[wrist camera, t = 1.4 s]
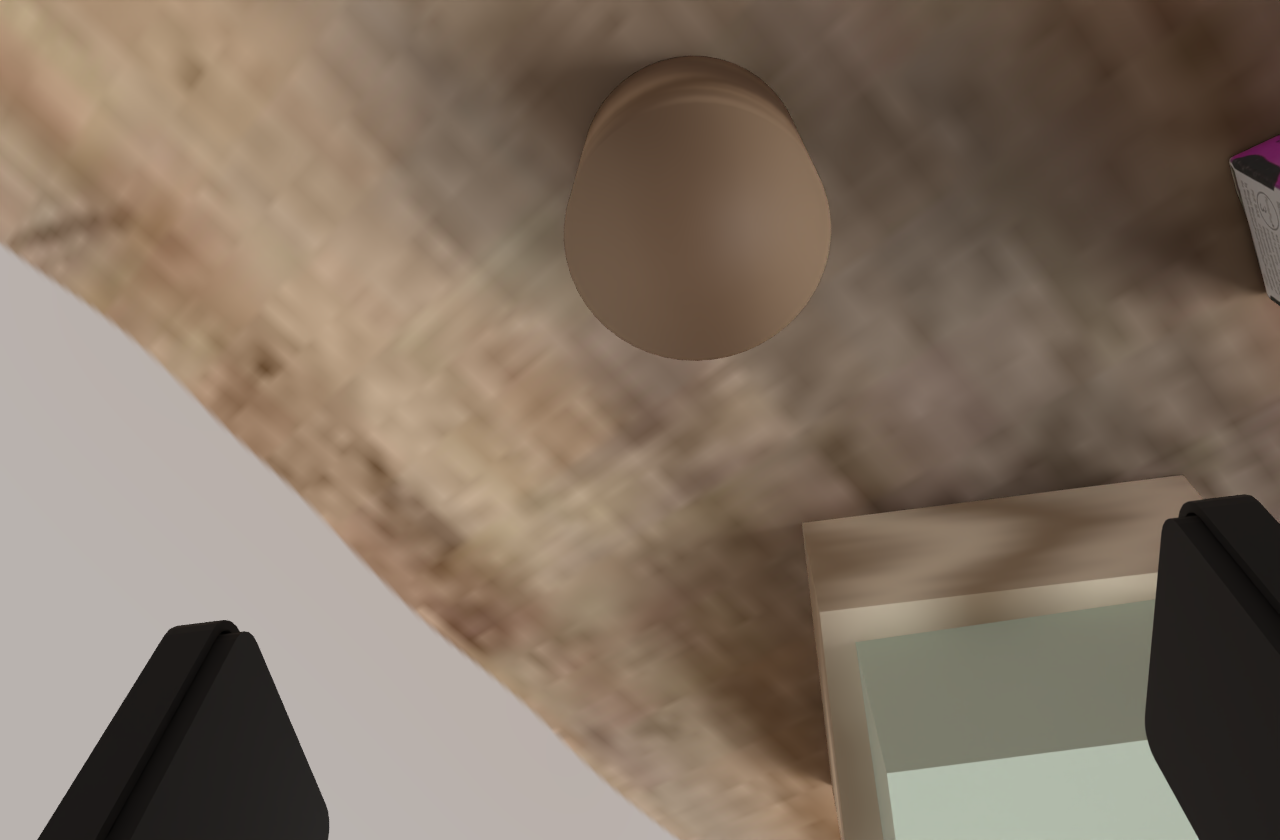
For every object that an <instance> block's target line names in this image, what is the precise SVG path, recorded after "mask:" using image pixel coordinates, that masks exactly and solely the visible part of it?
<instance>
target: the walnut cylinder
mask: <svg viewBox="0 0 1280 840" xmlns="http://www.w3.org/2000/svg"><path fill="white" fill-rule="evenodd" d="M830 241H831V218H830V211H829V204H828V200H827V197H826V193H825V190H824V187H823V184H822V182H821V180H820V178H819V175H818V173H817V171H816V169H815V167H814V165H813V163H812V161H811V158H810V156H809V154H808V152H807V150H806V148H805V146H804V144H803V142H802V140H801V137H800V135H799V133H798V131H797V129H796V127H795V125H794V123H793V121H792V119H791V117H790V114H789V112H788V111H787V109H786V108H785V106H784V104H783V103H782V101H781V100H780V98H779V97H778V96H777V95H776V94H775V92H774V91H773V90H772V89H771V88H770V87H769V86H768V85H767V84H766V83H764V82H763V81H762V80H761V79H760V78H758V77H757V76H756V75H754V74H753V73H751V72H750V71H748V70H746V69H744V68H742V67H740V66H738V65H736V64H733V63H730V62H727V61H724V60H721V59H716V58H711V57H704V56H685V57H675V58H671V59H667V60H662V61H659V62H657V63H654V64H651V65H649V66H646V67H645V68H643V69H641V70H639V71H637V72H635V73H634V74H632V75H631V76H630V77H628V78H627V79H626V80H624V81H623V82H622V83H621V84H620V85H618V86H617V87H616V88H615V89H614V90H613V91H612V92H611V93H610V95H609V96H608V97H607V98H606V100H605V101H604V102H603V103H602V105H601V107H600V108H599V110H598V112H597V113H596V115H595V117H594V119H593V121H592V124H591V126H590V128H589V131H588V134H587V138H586V141H585V145H584V149H583V152H582V156H581V159H580V163H579V166H578V170H577V173H576V177H575V180H574V184H573V187H572V191H571V194H570V198H569V201H568V205H567V209H566V216H565V223H564V245H565V253H566V259H567V263H568V267H569V271H570V274H571V277H572V279H573V281H574V284H575V286H576V289H577V291H578V292H579V294H580V296H581V297H582V299H583V301H584V302H585V304H586V305H587V307H588V308H589V309H590V310H591V312H592V313H593V314H594V316H595V317H596V318H597V319H598V320H599V321H600V322H601V323H602V324H603V325H604V326H605V327H606V328H607V329H609V330H610V331H611V332H613V333H614V334H615V335H617V336H618V337H619V338H621V339H622V340H624V341H626V342H628V343H629V344H631V345H633V346H635V347H637V348H639V349H642V350H644V351H646V352H649V353H652V354H655V355H659V356H662V357H666V358H672V359H678V360H695V361H699V360H712V359H718V358H723V357H728V356H732V355H735V354H738V353H741V352H744V351H747V350H749V349H751V348H754V347H756V346H758V345H760V344H762V343H763V342H765V341H767V340H768V339H770V338H772V337H773V336H775V335H776V334H777V333H779V332H780V331H781V330H782V329H784V328H785V327H786V326H787V325H789V324H790V322H791V321H792V320H793V319H794V318H795V317H796V316H797V315H798V314H799V313H800V312H801V311H802V309H803V308H804V307H805V305H806V304H807V303H808V301H809V300H810V299H811V297H812V295H813V293H814V292H815V290H816V288H817V286H818V284H819V282H820V280H821V277H822V275H823V272H824V270H825V266H826V262H827V259H828V255H829V249H830Z"/></svg>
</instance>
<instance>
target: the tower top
mask: <svg viewBox="0 0 1280 840" xmlns="http://www.w3.org/2000/svg"><path fill="white" fill-rule="evenodd" d="M1154 608H1155V599H1153V600H1147V601H1140V602H1133V603H1126V604H1119V605H1112V606H1105V607H1098V608H1091V609H1084V610H1077V611H1070V612H1063V613H1056V614H1049V615H1042V616H1035V617H1028V618H1021V619H1014V620H1007V621H1000V622H993V623H986V624H979V625H972V626H965V627H958V628H951V629H944V630H937V631H930V632H923V633H916V634H909V635H902V636H895V637H888V638H881V639H874V640H867V641H860V642H855V643H856V650H857V657H858V664H859V671H860V678H861V685H862V692H863V699H864V706H865V713H866V720H867V728H868V735H869V742H870V749H871V756H872V763H873V770H874V777H875V784H876V791H877V798H878V805H879V812H880V820H881V827H882V834H883V840H1199V839H1198V837H1197V835H1196V833H1195V831H1194V830H1193V828H1192V826H1191V824H1190V822H1189V821H1188V819H1187V817H1186V815H1185V813H1184V812H1183V810H1182V808H1181V806H1180V804H1179V802H1178V801H1177V799H1176V797H1175V795H1174V793H1173V792H1172V790H1171V788H1170V786H1169V784H1168V783H1167V781H1166V779H1165V777H1164V775H1163V773H1162V772H1161V770H1160V768H1159V766H1158V764H1157V763H1156V761H1155V759H1154V757H1153V755H1152V753H1151V750H1150V747H1149V744H1148V740H1147V736H1146V731H1145V708H1146V697H1147V686H1148V675H1149V664H1150V653H1151V642H1152V631H1153V619H1154Z"/></svg>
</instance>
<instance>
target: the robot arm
mask: <svg viewBox="0 0 1280 840" xmlns="http://www.w3.org/2000/svg"><path fill="white" fill-rule="evenodd" d="M1145 731H1146V736H1147V740H1148V744H1149V747H1150V750H1151V753H1152V755H1153V757H1154V759H1155V761H1156V763H1157V764H1158V766H1159V768H1160V770H1161V772H1162V773H1163V775H1164V777H1165V779H1166V781H1167V783H1168V784H1169V786H1170V788H1171V790H1172V792H1173V793H1174V795H1175V797H1176V799H1177V801H1178V802H1179V804H1180V806H1181V808H1182V810H1183V812H1184V813H1185V815H1186V817H1187V819H1188V821H1189V822H1190V824H1191V826H1192V828H1193V830H1194V831H1195V833H1196V835H1197V837H1198V839H1199V840H1280V524H1279V523H1278V522H1277V521H1276V520H1275V518H1274V517H1273V516H1272V515H1271V514H1270V513H1269V512H1268V511H1267V510H1266V509H1265V508H1264V507H1263V506H1262V505H1261V503H1260V502H1259V501H1257V500H1256V499H1255V498H1254V497H1252V496H1250V495H1245V494H1244V495H1236V496H1228V497H1219V498H1211V499H1203V500H1195V501H1188V502H1186V503H1184V504H1183V506H1182V507H1181V509H1180V511H1179V516H1178V518H1170V519H1167V520H1165V522H1164V524H1163V527H1162V532H1161V542H1160V553H1159V564H1158V575H1157V586H1156V597H1155V608H1154V619H1153V631H1152V642H1151V653H1150V664H1149V675H1148V686H1147V697H1146V708H1145ZM328 834H329V816H328V810H327V807H326V804H325V802H324V799H323V797H322V795H321V792H320V790H319V788H318V785H317V783H316V780H315V778H314V776H313V773H312V771H311V769H310V767H309V764H308V762H307V759H306V757H305V755H304V752H303V750H302V748H301V746H300V743H299V740H298V738H297V736H296V733H295V731H294V729H293V726H292V724H291V722H290V719H289V717H288V715H287V712H286V710H285V708H284V705H283V703H282V700H281V698H280V696H279V694H278V691H277V689H276V686H275V684H274V682H273V679H272V677H271V675H270V672H269V670H268V668H267V665H266V663H265V660H264V658H263V656H262V654H261V651H260V649H259V646H258V644H257V642H256V640H255V638H254V637H253V635H251V634H250V633H249V632H240V631H239V630H238V628H237V626H236V625H234V624H233V623H232V622H231V621H226V620H222V621H213V622H205V623H197V624H189V625H181V626H176V627H173V628H171V629H170V630H169V631H168V632H167V633H166V634H165V635H164V637H163V639H162V640H161V642H160V643H159V645H158V647H157V648H156V650H155V651H154V653H153V655H152V656H151V658H150V660H149V661H148V663H147V664H146V666H145V668H144V669H143V671H142V673H141V674H140V676H139V677H138V679H137V680H136V682H135V684H134V686H133V687H132V689H131V690H130V692H129V693H128V695H127V697H126V698H125V700H124V702H123V703H122V705H121V706H120V708H119V710H118V711H117V713H116V714H115V716H114V717H113V719H112V721H111V722H110V724H109V725H108V727H107V729H106V730H105V732H104V734H103V735H102V737H101V738H100V740H99V742H98V743H97V745H96V746H95V748H94V750H93V751H92V753H91V754H90V756H89V758H88V760H87V761H86V763H85V764H84V766H83V767H82V769H81V771H80V772H79V774H78V775H77V777H76V779H75V780H74V782H73V783H72V785H71V787H70V789H69V790H68V791H67V793H66V795H65V796H64V798H63V800H62V801H61V803H60V804H59V806H58V808H57V809H56V811H55V812H54V814H53V816H52V817H51V819H50V820H49V822H48V824H47V825H46V827H45V828H44V830H43V832H42V833H41V835H40V837H39V838H38V840H328Z"/></svg>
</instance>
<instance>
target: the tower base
mask: <svg viewBox="0 0 1280 840" xmlns="http://www.w3.org/2000/svg"><path fill="white" fill-rule="evenodd" d="M1195 500H1203V498H1202V497H1201V496H1200V495H1199V493H1198V492H1197V491H1196V490H1195V489H1194V487H1193V486H1192V485H1191V484H1190V483H1189V481H1188V480H1187V479H1186V478H1185V477H1184V475H1178V476H1170V477H1162V478H1154V479H1146V480H1138V481H1130V482H1122V483H1114V484H1107V485H1099V486H1091V487H1083V488H1075V489H1067V490H1059V491H1051V492H1043V493H1035V494H1027V495H1019V496H1012V497H1004V498H996V499H988V500H980V501H972V502H964V503H956V504H948V505H940V506H932V507H924V508H916V509H909V510H901V511H893V512H885V513H877V514H869V515H861V516H853V517H845V518H837V519H829V520H821V521H814V522H806V523H802V530H803V539H804V548H805V556H806V565H807V574H808V583H809V591H810V600H811V609H812V617H813V626H814V635H815V644H816V652H817V661H818V670H819V678H820V687H821V696H822V705H823V713H824V722H825V731H826V739H827V748H828V757H829V766H830V774H831V783H832V789H833V795H834V801H835V806H836V812H837V818H838V823H839V829H840V834H841V840H883V834H882V827H881V820H880V812H879V805H878V798H877V791H876V784H875V777H874V770H873V763H872V756H871V749H870V742H869V735H868V728H867V720H866V713H865V706H864V699H863V692H862V685H861V678H860V671H859V664H858V657H857V650H856V643H855V642H860V641H867V640H874V639H881V638H888V637H895V636H902V635H909V634H916V633H923V632H930V631H937V630H944V629H951V628H958V627H965V626H972V625H979V624H986V623H993V622H1000V621H1007V620H1014V619H1021V618H1028V617H1035V616H1042V615H1049V614H1056V613H1063V612H1070V611H1077V610H1084V609H1091V608H1098V607H1105V606H1112V605H1119V604H1126V603H1133V602H1140V601H1147V600H1153V599H1155V597H1156V586H1157V575H1158V564H1159V553H1160V542H1161V532H1162V527H1163V524H1164V522H1165V520H1167V519H1170V518H1178V516H1179V511H1180V509H1181V507H1182V506H1183V504H1184V503H1186V502H1188V501H1195Z"/></svg>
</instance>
